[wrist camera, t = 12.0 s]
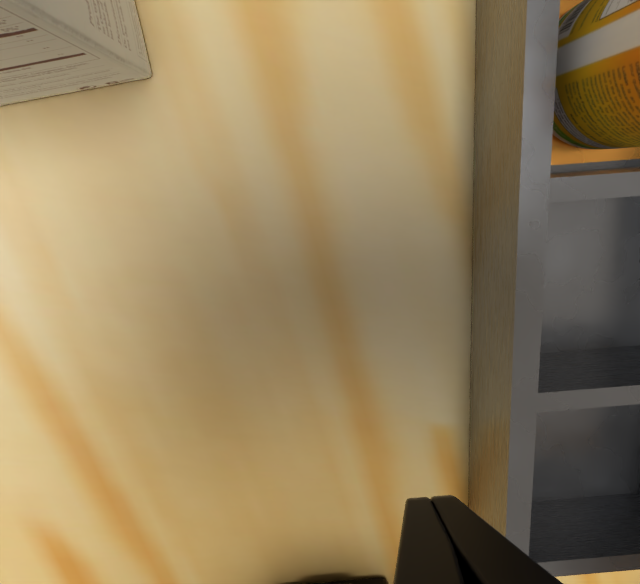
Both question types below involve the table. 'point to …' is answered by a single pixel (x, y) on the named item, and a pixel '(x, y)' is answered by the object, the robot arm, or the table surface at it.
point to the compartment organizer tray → (551, 312)
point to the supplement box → (68, 47)
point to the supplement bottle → (598, 75)
